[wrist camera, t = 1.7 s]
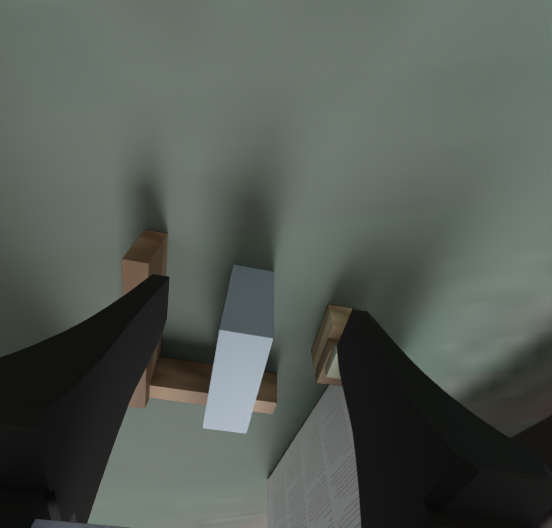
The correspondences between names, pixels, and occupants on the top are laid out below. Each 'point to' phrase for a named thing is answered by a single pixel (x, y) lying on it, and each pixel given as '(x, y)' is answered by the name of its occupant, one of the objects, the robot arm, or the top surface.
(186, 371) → the brown wooden l-shape
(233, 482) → the top surface
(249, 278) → the light blue block
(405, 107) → the top surface
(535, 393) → the top surface
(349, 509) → the skincare box
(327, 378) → the offcut stack
